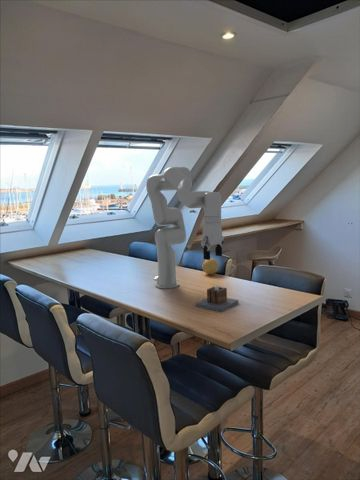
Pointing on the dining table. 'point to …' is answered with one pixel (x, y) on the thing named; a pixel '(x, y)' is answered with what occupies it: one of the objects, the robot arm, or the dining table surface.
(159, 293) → the dining table surface
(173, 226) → the robot arm
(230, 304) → the stand
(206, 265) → the stress ball
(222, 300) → the wooden block stack
